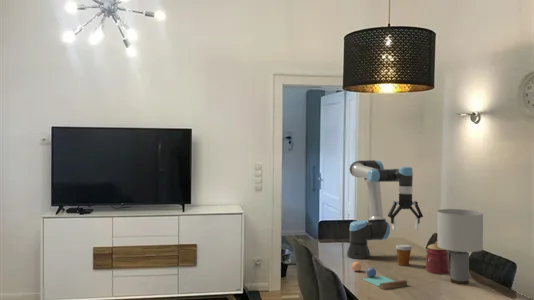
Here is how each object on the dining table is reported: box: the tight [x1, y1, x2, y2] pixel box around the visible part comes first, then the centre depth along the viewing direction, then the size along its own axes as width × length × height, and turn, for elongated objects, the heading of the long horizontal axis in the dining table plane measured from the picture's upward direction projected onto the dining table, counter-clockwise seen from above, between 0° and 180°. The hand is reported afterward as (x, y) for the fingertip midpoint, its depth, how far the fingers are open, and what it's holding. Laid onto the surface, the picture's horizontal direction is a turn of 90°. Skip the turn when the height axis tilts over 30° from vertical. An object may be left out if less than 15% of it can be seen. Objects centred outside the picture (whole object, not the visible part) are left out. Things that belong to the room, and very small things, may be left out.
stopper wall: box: [379, 279, 408, 290], centre depth 239 cm, size 2×16×2 cm, turn 114°
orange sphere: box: [351, 261, 362, 272], centre depth 269 cm, size 6×6×6 cm
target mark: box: [362, 275, 395, 287], centre depth 249 cm, size 14×14×1 cm
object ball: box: [365, 266, 377, 278], centre depth 256 cm, size 6×6×6 cm
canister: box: [425, 241, 450, 275], centre depth 268 cm, size 13×13×18 cm
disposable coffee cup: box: [395, 243, 412, 267], centre depth 283 cm, size 10×10×12 cm
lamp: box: [436, 208, 484, 286], centre depth 247 cm, size 23×23×38 cm
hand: (405, 229), depth 268 cm, fingers open, 13 cm apart
